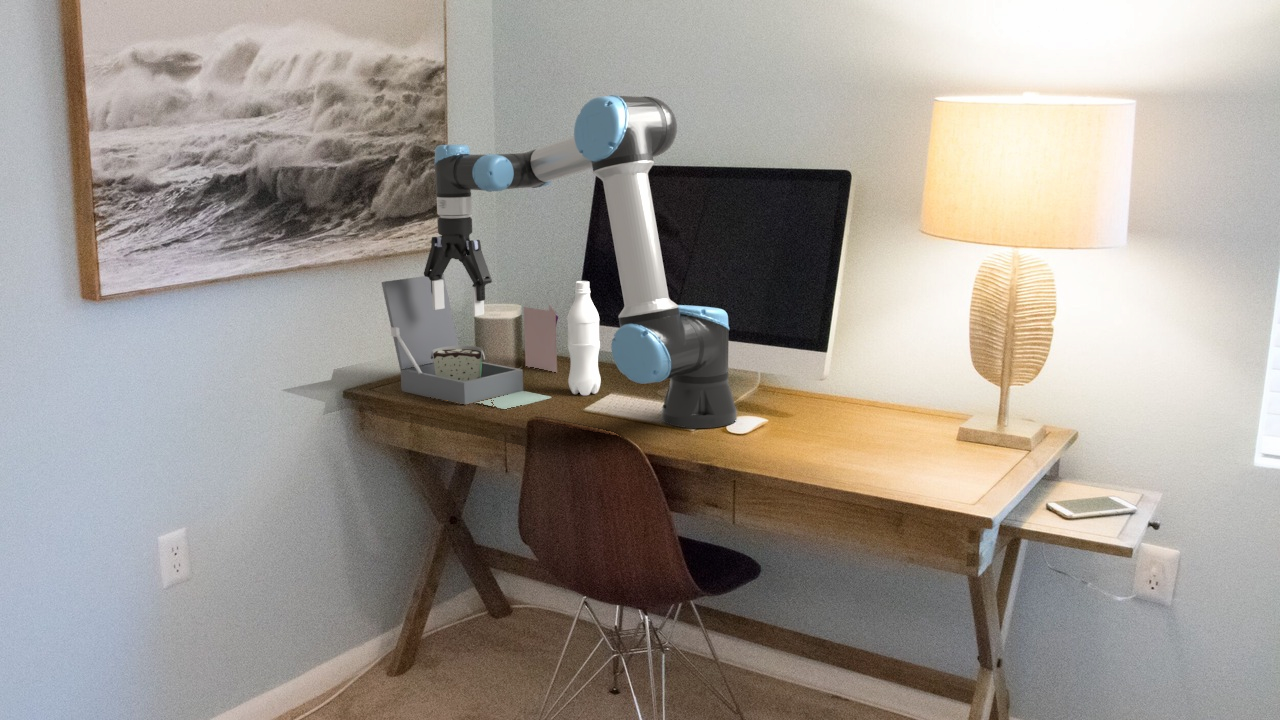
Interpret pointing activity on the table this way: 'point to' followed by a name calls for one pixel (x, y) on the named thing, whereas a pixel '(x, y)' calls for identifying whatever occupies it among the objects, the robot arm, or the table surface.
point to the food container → (458, 362)
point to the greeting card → (540, 338)
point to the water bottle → (583, 342)
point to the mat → (515, 399)
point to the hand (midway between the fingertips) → (458, 312)
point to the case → (436, 346)
